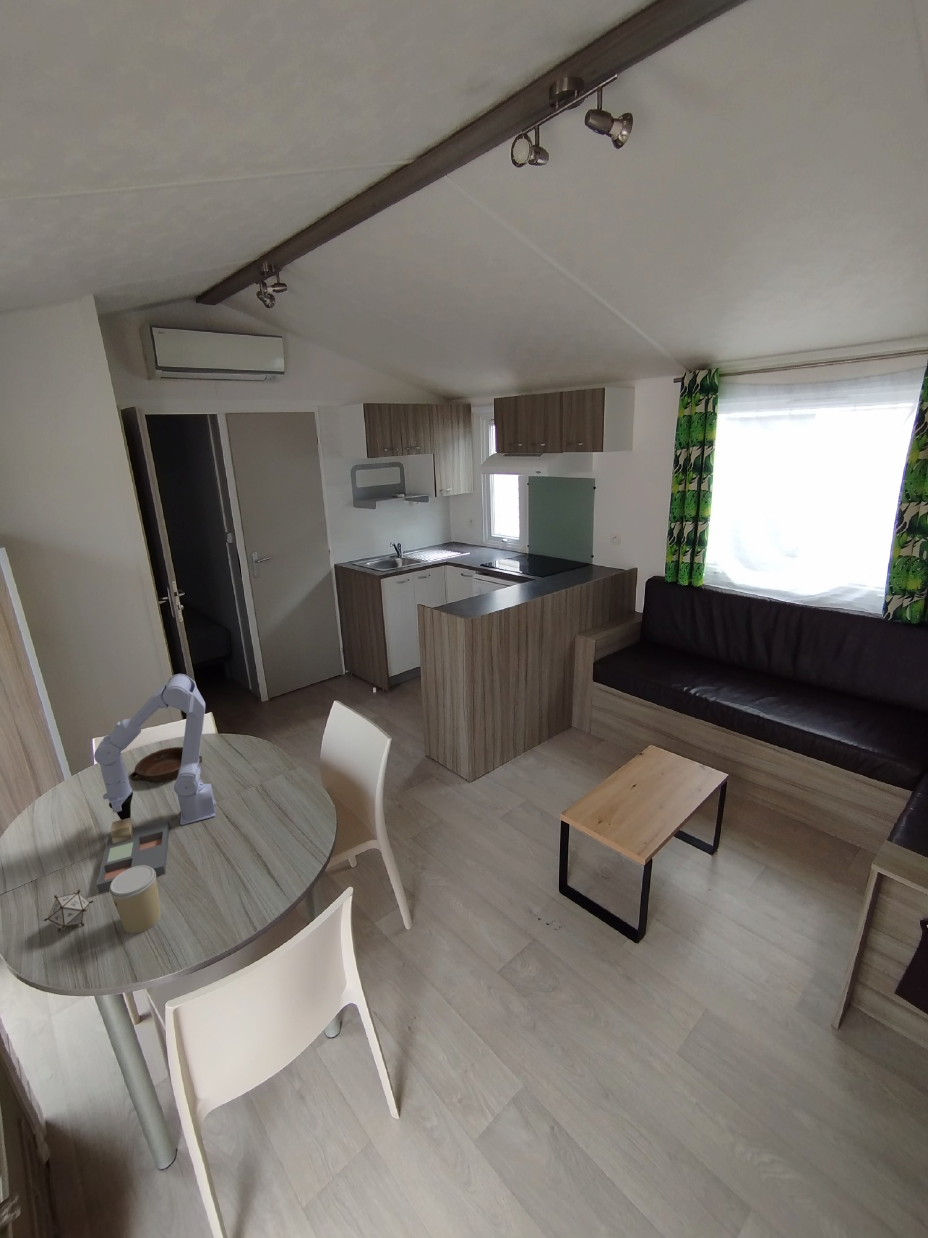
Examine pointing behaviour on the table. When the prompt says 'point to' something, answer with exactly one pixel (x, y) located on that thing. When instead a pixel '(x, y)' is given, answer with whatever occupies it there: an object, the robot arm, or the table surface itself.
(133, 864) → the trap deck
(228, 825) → the table surface
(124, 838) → the maple block
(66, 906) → the game die
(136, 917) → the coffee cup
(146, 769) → the dish
